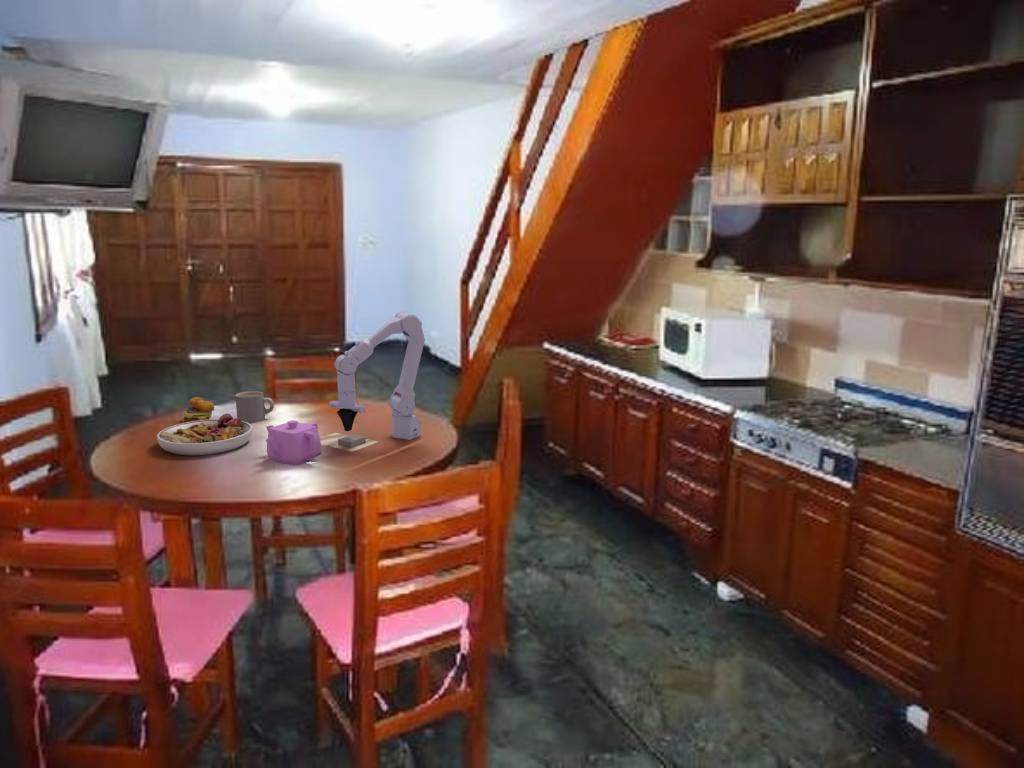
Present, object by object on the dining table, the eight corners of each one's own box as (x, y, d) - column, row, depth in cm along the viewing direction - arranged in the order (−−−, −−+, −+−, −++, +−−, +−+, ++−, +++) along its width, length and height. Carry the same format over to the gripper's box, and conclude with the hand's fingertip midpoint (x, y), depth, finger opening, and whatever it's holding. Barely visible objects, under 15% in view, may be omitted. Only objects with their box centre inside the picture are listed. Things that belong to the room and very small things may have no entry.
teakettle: (322, 464, 235) (320, 426, 232) (265, 468, 230) (263, 430, 227) (321, 448, 251) (319, 412, 248) (268, 452, 246) (265, 416, 243)
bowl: (221, 461, 237) (219, 437, 235) (138, 455, 243) (135, 431, 241) (269, 435, 266) (268, 413, 264) (194, 429, 271) (192, 409, 270)
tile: (352, 439, 256) (365, 442, 253) (338, 444, 250) (351, 447, 247) (352, 434, 256) (365, 436, 253) (337, 439, 250) (351, 442, 247)
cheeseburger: (180, 418, 285) (185, 393, 284) (210, 422, 290) (215, 397, 289) (181, 424, 276) (186, 398, 275) (212, 428, 281) (216, 402, 280)
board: (378, 445, 254) (378, 441, 254) (352, 455, 243) (351, 451, 243) (335, 435, 264) (335, 432, 264) (308, 445, 254) (308, 441, 253)
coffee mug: (233, 423, 280) (231, 397, 277) (241, 416, 289) (240, 391, 287) (270, 423, 280) (268, 397, 278) (276, 416, 290) (275, 391, 288)
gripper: (322, 390, 249) (323, 429, 252) (354, 396, 241) (356, 436, 244) (337, 386, 255) (338, 425, 258) (369, 392, 247) (370, 431, 250)
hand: (348, 430), depth 251 cm, fingers closed
